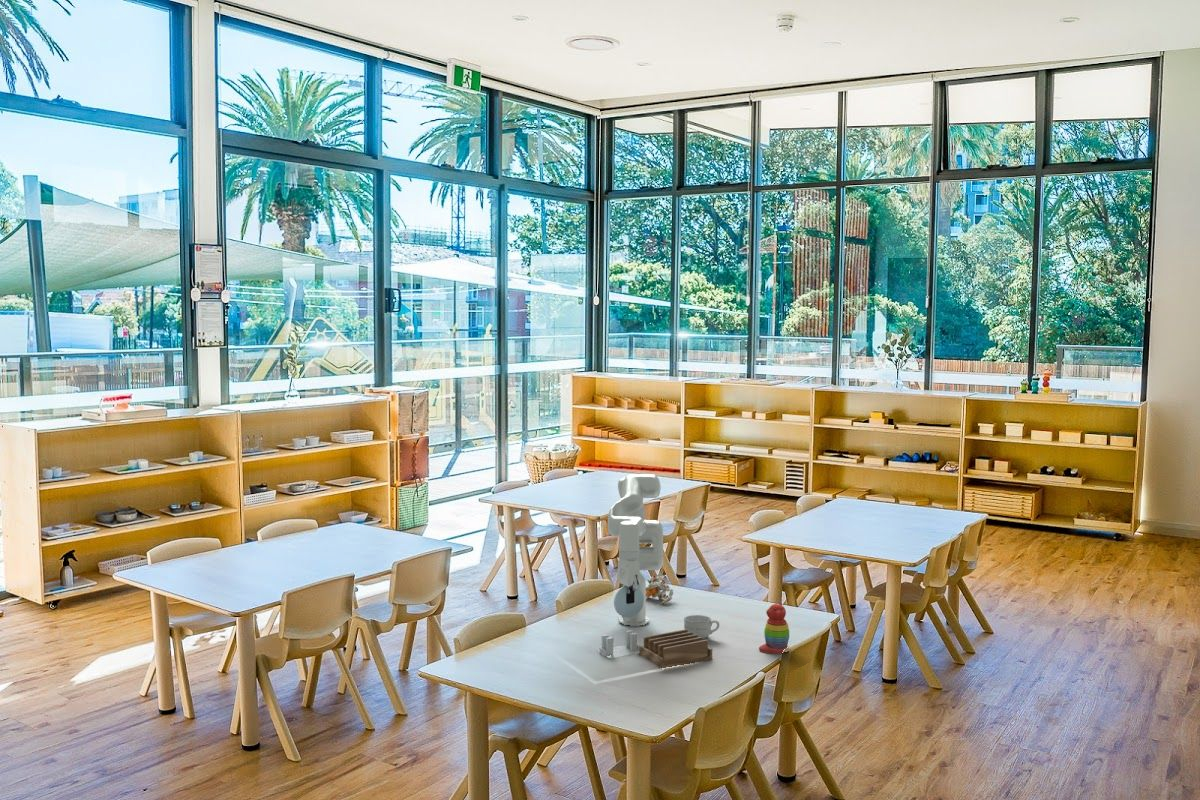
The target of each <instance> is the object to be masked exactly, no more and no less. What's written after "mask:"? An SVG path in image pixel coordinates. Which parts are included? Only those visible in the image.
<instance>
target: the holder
mask: <svg viewBox="0 0 1200 800" xmlns="http://www.w3.org/2000/svg"><path fill="white" fill-rule="evenodd" d="M639 646H641V645H640V644H639V643H638V632H634V631H633V630H632V629H630V630H625V644H624V645H617V646H614V637H612V636H610V635H609V634H601V646H600V647H598V650H599V652H600V653H601V654H600V653H599V654H600V655H602V654H603V655H604V656H603V655H602V656H603V657H605V656H610V655H611V657H614V658H613V659H615V658H619V657H620V658H621V657H624V656H629V655H635V654H639Z"/></svg>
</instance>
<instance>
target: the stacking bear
mask: <svg viewBox="0 0 1200 800" xmlns="http://www.w3.org/2000/svg"><path fill="white" fill-rule="evenodd" d="M765 613H766V616H767V617H768V619H767V620H766V622H765V627H764V631H763V632H764V634H763V635H764V641H765V643H764V644H762V645H760V646H759V647H758V650H759V651H760V652H762V653H766V654H773V655H782V652H783V650H784V649H786V648H787V647H788V648H789V645H788V643H789V640H790V628H789V624H788V622H787V620H786V619H785V618H786V614H787V611H786V608H785V607H784V606H783V604H782V603H781V602H779V603H774V604H772V605H770V607H768V609H766V610H765ZM759 651H758V652H759Z"/></svg>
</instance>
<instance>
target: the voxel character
mask: <svg viewBox="0 0 1200 800" xmlns="http://www.w3.org/2000/svg"><path fill="white" fill-rule="evenodd" d="M665 577H666V576H665V575H663V574H662V573H660V572H658V573H657V574H656V575H652V576H650V577H649V578H648V580H646V581H647V582H648V586H646V599H649V598H650V597H652V598H653V599H654V598H658V599H659V600H662V599H663V600H662V601H660V603H659V604H660V605H664V604H665V603H668V602H670V601H671V600H673V595H674V589H673V588H670V586H669V584H668V583H666V581H665ZM666 592H668V595H667V594H666Z"/></svg>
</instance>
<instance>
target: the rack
mask: <svg viewBox="0 0 1200 800" xmlns="http://www.w3.org/2000/svg"><path fill="white" fill-rule="evenodd" d="M638 655H640V656H642V657H643V658H645V659H646V660H648V661H650V662H651V663H654V664H656V665H657V666H659V668H660V667H661V668H666V667H672V666H677V665H684V664H689V665H691V664H690V663H693V664H696V663H695V662H698V663H702V662H701V661H703V662H706V661H705V660H708V661H712V660H713V648H711V647H709V640H708V639H703V637H698V635H697V634H695V635H693V632H688V630H687V629H685V630H684V629H680V630H674V631H670V632H664V633H659V634H652V635H648V636H643V645H640V646H639V653H638ZM711 659H712V660H711ZM684 666H685V665H684Z"/></svg>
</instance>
